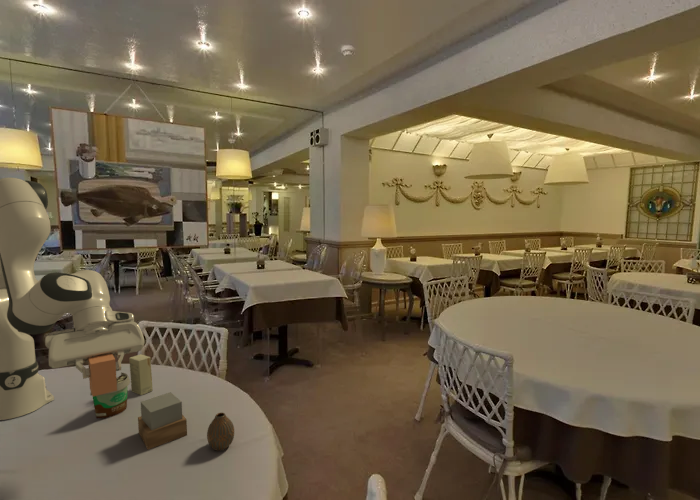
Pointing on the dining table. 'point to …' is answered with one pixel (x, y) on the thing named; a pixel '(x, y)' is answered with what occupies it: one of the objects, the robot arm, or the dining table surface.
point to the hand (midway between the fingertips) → (102, 373)
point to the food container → (112, 399)
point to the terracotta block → (102, 374)
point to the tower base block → (162, 432)
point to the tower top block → (161, 410)
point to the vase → (220, 432)
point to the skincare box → (141, 374)
